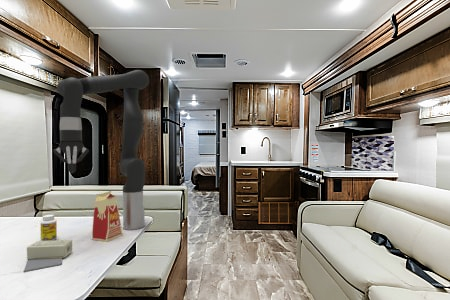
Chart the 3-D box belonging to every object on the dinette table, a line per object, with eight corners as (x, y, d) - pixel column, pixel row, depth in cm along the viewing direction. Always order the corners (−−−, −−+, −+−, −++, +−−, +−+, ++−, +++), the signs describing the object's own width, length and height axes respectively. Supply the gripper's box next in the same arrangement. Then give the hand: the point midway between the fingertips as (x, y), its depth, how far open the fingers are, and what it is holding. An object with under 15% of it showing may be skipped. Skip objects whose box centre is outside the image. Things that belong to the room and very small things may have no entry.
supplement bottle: (40, 243, 108) (40, 218, 107) (40, 239, 112) (40, 215, 112) (56, 240, 111) (56, 216, 111) (56, 237, 115) (56, 213, 115)
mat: (62, 251, 99) (62, 250, 99) (61, 264, 88) (61, 263, 88) (28, 257, 94) (28, 256, 94) (23, 272, 83) (23, 270, 83)
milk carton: (122, 235, 117) (122, 189, 117) (107, 242, 108) (106, 192, 108) (105, 233, 120) (105, 188, 120) (89, 239, 111) (88, 191, 111)
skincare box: (72, 251, 98) (37, 253, 97) (72, 239, 98) (37, 240, 97) (64, 258, 92) (26, 260, 91) (64, 245, 92) (26, 247, 91)
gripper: (88, 130, 113) (89, 171, 113) (51, 129, 106) (52, 173, 106) (90, 129, 107) (91, 172, 107) (50, 128, 100) (52, 175, 100)
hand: (72, 172), depth 107 cm, fingers closed
